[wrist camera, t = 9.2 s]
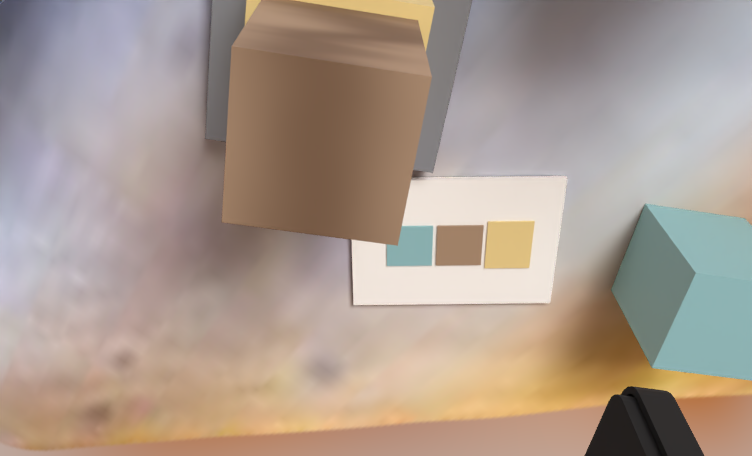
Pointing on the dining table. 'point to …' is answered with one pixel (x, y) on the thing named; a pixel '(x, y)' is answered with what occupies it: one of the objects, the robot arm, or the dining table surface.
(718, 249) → the teal brick
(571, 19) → the dining table surface
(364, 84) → the walnut brick
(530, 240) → the tile
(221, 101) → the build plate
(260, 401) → the dining table surface
